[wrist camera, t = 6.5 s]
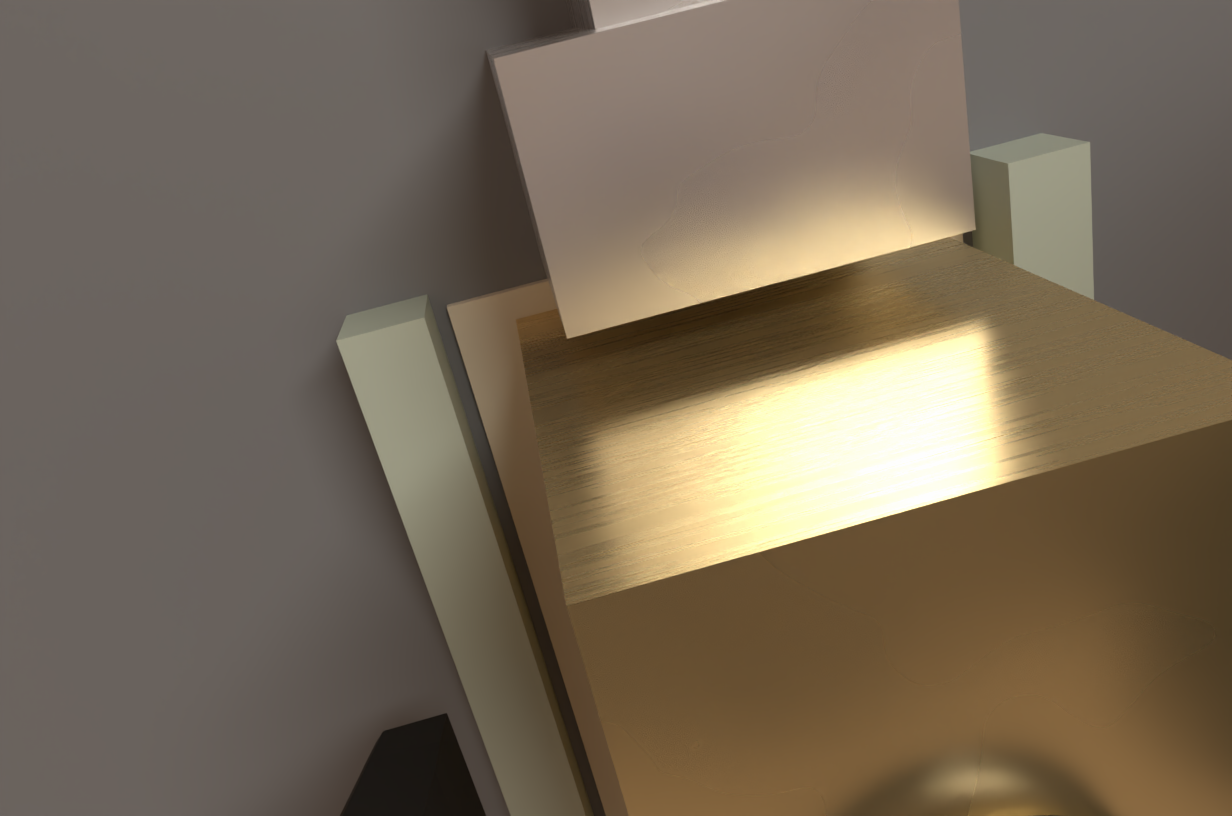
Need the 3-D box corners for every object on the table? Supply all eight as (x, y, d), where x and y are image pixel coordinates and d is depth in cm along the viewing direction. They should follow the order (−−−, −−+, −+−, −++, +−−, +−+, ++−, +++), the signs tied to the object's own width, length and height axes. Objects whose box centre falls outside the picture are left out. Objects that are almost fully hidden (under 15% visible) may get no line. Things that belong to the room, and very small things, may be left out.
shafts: (949, -1001, 6) (1204, -1536, 4) (1068, 1115, 16) (1166, 1290, 14) (245, -860, 6) (124, -1346, 4) (791, 1203, 16) (845, 1396, 13)
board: (1397, -940, 8) (1729, -1281, 6) (1263, 952, 18) (1372, 1079, 15) (-816, -479, 7) (-1347, -690, 5) (305, 1250, 17) (282, 1428, 14)
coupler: (958, 744, 12) (1316, 1262, 7) (660, 831, 12) (805, 1429, 7) (904, 216, 10) (1422, 442, 4) (515, 319, 9) (579, 682, 4)
